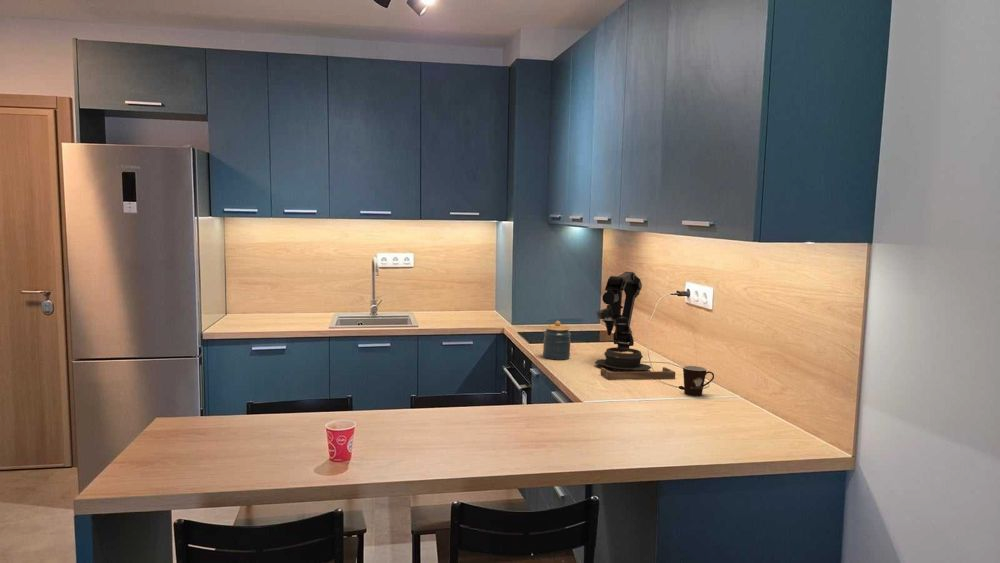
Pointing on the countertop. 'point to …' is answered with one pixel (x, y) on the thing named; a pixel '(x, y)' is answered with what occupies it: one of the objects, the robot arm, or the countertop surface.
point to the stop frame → (639, 374)
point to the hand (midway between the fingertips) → (613, 336)
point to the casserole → (623, 359)
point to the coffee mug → (694, 380)
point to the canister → (557, 342)
